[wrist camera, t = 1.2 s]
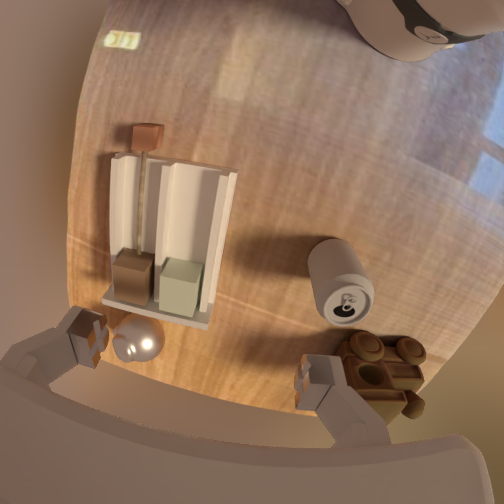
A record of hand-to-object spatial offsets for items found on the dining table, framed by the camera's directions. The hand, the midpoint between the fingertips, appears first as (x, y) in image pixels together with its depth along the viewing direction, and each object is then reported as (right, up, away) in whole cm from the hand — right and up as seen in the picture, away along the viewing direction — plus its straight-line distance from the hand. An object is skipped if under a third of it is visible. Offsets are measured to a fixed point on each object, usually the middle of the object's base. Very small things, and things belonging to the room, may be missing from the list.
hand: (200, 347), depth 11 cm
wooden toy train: (+26, -16, +42) cm, 52 cm away
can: (+14, +3, +33) cm, 36 cm away
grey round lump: (-18, -9, +41) cm, 45 cm away
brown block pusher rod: (-13, +10, +30) cm, 34 cm away
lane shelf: (-10, +7, +32) cm, 34 cm away
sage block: (-8, 0, +33) cm, 34 cm away
